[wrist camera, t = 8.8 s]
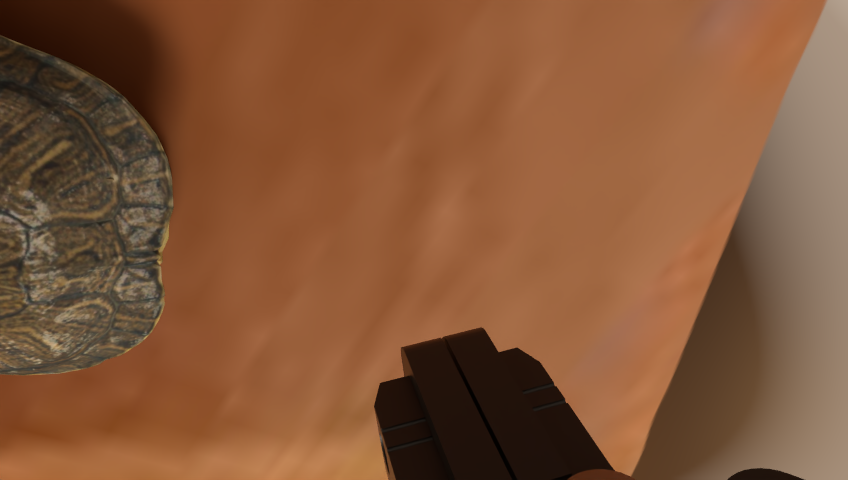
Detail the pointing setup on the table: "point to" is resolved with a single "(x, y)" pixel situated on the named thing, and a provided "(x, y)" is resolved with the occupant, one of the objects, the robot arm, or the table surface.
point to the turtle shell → (75, 217)
